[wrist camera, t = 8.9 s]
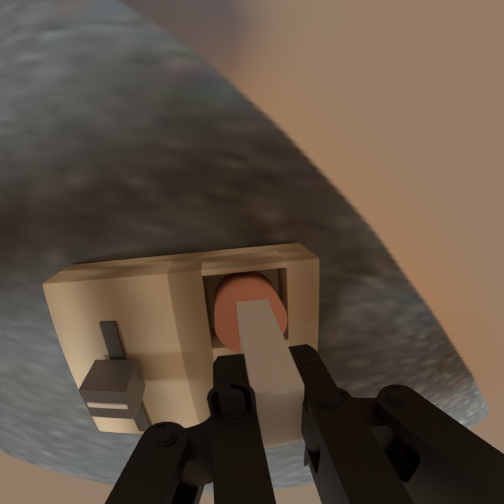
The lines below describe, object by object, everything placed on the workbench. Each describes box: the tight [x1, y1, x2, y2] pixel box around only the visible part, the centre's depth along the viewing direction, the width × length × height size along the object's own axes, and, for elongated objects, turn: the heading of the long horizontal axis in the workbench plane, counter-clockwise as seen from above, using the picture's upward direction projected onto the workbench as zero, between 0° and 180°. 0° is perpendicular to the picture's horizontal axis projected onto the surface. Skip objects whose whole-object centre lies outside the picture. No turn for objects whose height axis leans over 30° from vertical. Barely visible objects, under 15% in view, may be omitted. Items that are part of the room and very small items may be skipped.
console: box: [42, 243, 319, 434], centre depth 18 cm, size 16×12×4 cm
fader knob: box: [79, 359, 146, 419], centre depth 14 cm, size 3×2×3 cm
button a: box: [214, 271, 287, 353], centre depth 16 cm, size 4×4×3 cm
